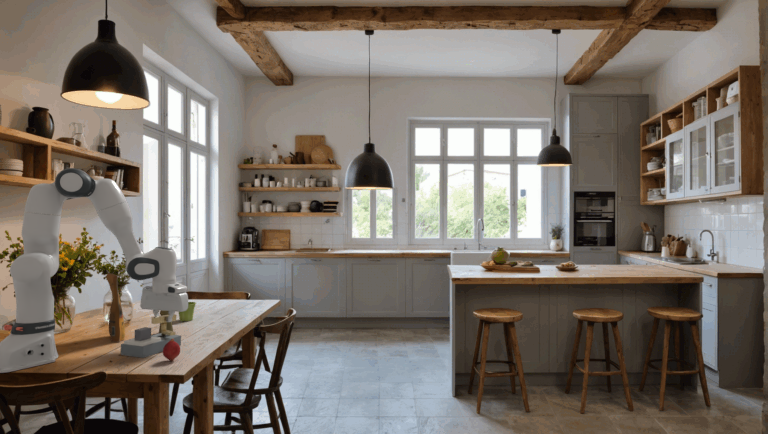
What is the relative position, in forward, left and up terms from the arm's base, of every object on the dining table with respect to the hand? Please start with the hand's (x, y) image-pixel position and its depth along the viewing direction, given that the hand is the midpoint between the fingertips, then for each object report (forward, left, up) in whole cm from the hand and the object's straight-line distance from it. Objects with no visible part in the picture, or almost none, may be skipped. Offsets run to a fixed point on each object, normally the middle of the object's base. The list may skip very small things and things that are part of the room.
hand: (163, 321), depth 193 cm
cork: (+19, +16, -10) cm, 27 cm away
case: (-6, 0, -10) cm, 12 cm away
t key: (-1, -3, -5) cm, 6 cm away
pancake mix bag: (+3, +28, -10) cm, 30 cm away
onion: (-15, -18, -10) cm, 25 cm away
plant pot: (+44, +27, -10) cm, 53 cm away
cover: (-10, 0, -6) cm, 12 cm away
